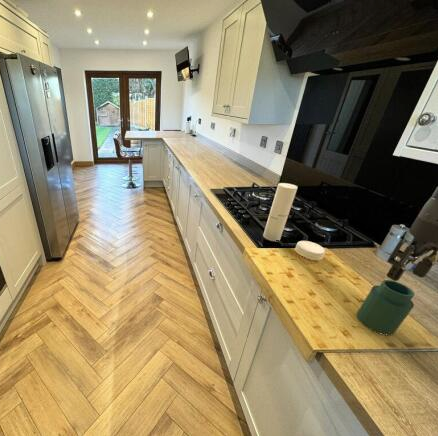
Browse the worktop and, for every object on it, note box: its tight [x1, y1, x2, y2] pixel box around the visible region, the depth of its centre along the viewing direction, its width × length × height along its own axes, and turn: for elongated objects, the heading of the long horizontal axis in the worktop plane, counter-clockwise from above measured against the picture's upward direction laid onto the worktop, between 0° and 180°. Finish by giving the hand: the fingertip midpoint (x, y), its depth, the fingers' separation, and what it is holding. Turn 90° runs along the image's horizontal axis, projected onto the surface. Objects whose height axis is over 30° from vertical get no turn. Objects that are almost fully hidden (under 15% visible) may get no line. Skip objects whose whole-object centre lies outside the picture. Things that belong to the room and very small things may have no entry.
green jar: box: [356, 279, 415, 336], centre depth 64 cm, size 8×8×13 cm
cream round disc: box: [294, 240, 326, 261], centre depth 97 cm, size 10×10×4 cm
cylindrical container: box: [262, 182, 298, 242], centre depth 103 cm, size 7×7×25 cm
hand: (405, 276), depth 59 cm, fingers open, 8 cm apart
